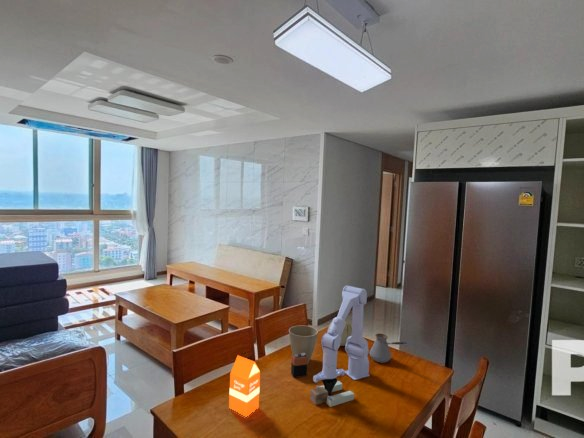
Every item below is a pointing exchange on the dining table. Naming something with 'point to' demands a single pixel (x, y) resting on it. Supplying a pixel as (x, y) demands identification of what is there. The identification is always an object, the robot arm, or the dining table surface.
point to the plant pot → (303, 340)
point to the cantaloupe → (345, 333)
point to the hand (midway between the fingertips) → (328, 394)
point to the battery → (299, 365)
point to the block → (318, 395)
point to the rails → (338, 395)
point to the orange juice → (244, 386)
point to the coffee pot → (382, 348)
